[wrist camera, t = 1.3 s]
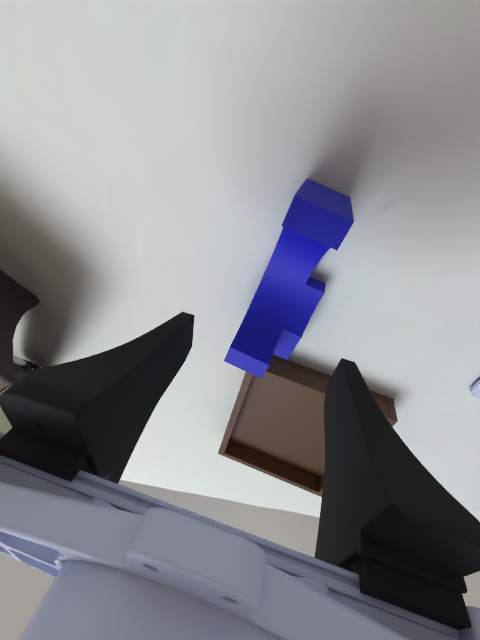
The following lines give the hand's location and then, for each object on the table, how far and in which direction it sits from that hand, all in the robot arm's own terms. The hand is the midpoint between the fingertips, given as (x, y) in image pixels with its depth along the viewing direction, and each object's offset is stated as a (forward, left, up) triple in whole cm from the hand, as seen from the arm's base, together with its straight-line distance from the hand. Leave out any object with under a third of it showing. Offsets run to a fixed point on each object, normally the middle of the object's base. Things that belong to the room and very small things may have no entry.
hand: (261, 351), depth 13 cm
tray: (-6, +17, -10) cm, 21 cm away
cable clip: (-1, 0, -10) cm, 10 cm away
